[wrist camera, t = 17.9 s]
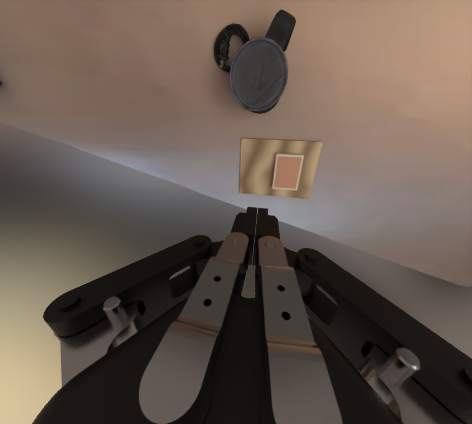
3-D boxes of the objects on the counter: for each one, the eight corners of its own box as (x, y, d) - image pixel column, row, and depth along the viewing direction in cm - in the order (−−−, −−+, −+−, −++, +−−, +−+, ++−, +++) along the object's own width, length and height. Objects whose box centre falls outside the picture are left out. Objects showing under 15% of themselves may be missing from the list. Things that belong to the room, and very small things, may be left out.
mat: (322, 141, 42) (322, 141, 42) (308, 197, 49) (308, 198, 49) (241, 138, 45) (241, 138, 44) (239, 192, 52) (239, 192, 51)
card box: (276, 152, 45) (302, 153, 44) (272, 185, 49) (295, 187, 48) (276, 154, 42) (304, 155, 42) (272, 188, 47) (297, 190, 46)
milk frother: (275, 117, 42) (279, 115, 29) (212, 107, 43) (189, 100, 30) (293, 37, 35) (309, -13, 22) (217, 28, 36) (190, -25, 23)
